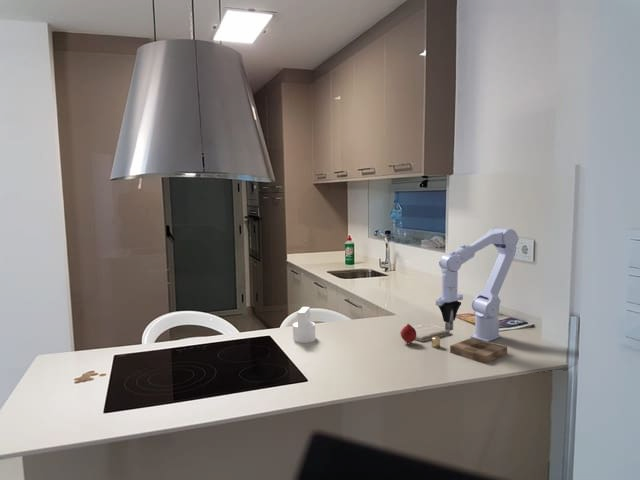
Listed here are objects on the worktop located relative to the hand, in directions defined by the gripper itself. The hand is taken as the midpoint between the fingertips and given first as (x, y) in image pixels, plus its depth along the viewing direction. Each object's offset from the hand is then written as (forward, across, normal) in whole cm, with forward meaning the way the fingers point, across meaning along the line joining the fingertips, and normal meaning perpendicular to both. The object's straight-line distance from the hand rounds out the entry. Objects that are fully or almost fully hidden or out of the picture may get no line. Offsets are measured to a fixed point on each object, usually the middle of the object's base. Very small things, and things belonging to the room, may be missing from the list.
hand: (449, 320), depth 172 cm
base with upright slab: (+8, +40, -40) cm, 57 cm away
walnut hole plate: (+8, +2, +14) cm, 16 cm away
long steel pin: (+3, 0, 0) cm, 3 cm away
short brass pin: (+8, +8, 0) cm, 12 cm away
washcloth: (+9, -1, -12) cm, 15 cm away
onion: (+8, +13, -9) cm, 18 cm away
